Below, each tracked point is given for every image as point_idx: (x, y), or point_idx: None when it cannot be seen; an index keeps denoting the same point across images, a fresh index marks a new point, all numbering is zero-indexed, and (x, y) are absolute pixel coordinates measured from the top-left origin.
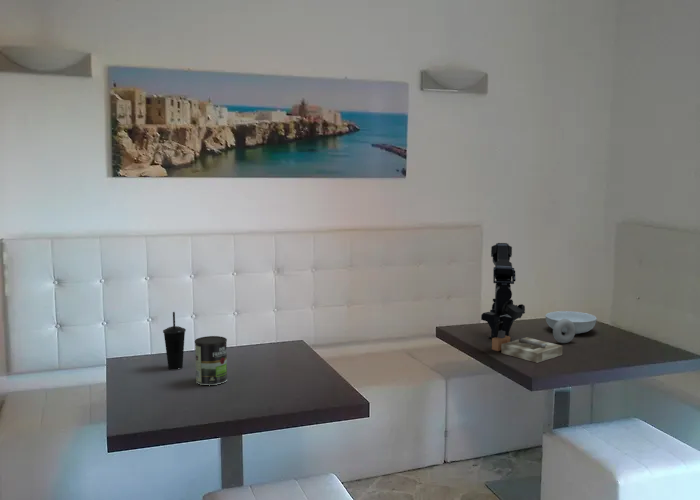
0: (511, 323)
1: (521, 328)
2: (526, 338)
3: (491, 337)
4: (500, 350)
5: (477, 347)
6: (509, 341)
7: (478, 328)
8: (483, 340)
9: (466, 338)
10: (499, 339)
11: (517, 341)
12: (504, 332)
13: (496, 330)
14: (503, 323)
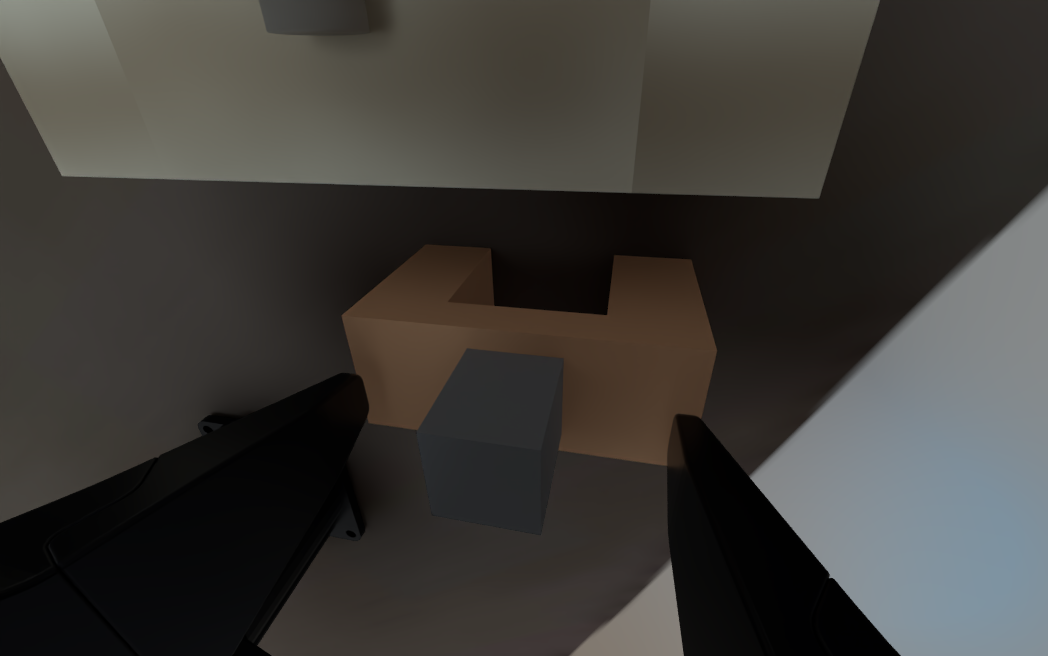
0: (58, 527)
1: (6, 471)
2: (95, 132)
3: (354, 519)
4: (633, 256)
5: None
6: (403, 281)
7: (275, 628)
8: (452, 532)
9: (519, 622)
10: (673, 350)
11: (363, 103)
12: (453, 419)
13: (820, 572)
14: (239, 638)
